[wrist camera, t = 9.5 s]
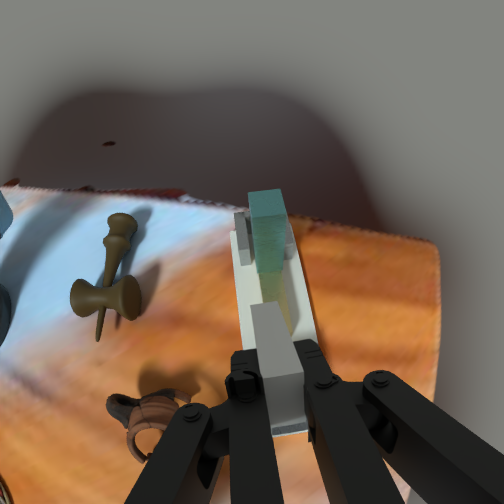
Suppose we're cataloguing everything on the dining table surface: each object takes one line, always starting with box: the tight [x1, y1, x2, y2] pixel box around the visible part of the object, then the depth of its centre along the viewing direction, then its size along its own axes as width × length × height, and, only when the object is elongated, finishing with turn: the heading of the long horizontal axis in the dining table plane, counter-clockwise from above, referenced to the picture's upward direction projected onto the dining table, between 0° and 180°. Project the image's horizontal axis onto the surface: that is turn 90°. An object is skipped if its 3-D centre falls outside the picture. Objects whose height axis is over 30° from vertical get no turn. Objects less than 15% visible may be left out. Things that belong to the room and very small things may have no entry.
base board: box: [230, 223, 318, 437], centre depth 36 cm, size 28×9×1 cm, turn 7°
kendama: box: [70, 213, 141, 342], centre depth 39 cm, size 6×10×20 cm
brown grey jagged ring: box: [106, 389, 191, 464], centre depth 28 cm, size 12×10×8 cm
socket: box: [234, 208, 294, 266], centre depth 40 cm, size 6×7×4 cm
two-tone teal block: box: [248, 189, 293, 337], centre depth 32 cm, size 14×3×13 cm, turn 7°
